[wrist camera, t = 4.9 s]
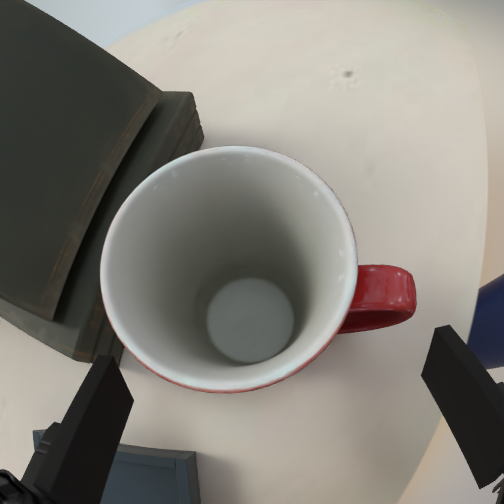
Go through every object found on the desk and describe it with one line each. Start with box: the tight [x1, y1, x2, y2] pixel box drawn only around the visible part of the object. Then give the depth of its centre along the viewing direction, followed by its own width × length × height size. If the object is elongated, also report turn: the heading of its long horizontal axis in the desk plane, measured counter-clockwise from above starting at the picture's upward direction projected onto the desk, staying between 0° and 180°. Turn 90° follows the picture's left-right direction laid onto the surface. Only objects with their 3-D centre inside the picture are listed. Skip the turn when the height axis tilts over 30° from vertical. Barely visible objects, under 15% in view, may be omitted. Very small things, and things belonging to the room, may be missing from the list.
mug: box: [100, 146, 417, 393], centre depth 16 cm, size 13×9×14 cm
